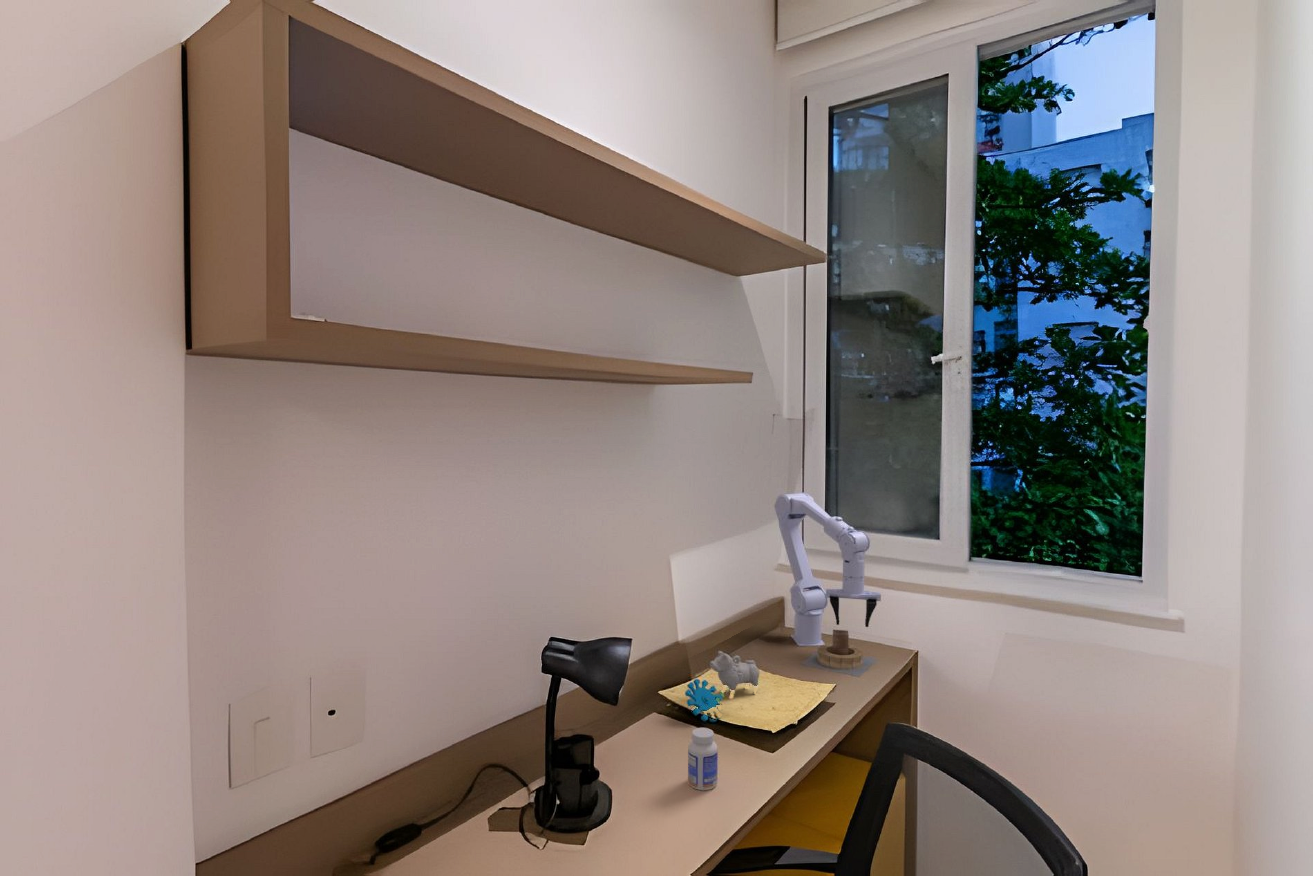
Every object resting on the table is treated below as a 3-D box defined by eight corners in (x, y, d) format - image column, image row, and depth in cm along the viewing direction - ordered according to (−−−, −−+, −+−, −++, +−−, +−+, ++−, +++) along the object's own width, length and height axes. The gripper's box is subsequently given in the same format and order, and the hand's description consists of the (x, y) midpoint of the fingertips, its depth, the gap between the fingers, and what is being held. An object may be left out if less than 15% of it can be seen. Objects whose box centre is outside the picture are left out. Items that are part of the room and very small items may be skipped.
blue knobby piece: (699, 722, 157) (681, 679, 163) (684, 735, 160) (667, 692, 166) (735, 716, 164) (717, 675, 170) (720, 728, 167) (703, 687, 173)
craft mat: (822, 648, 210) (822, 647, 210) (878, 660, 201) (878, 658, 201) (800, 665, 196) (800, 663, 196) (859, 678, 188) (859, 676, 188)
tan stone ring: (813, 654, 204) (813, 643, 204) (853, 653, 205) (854, 643, 205) (825, 669, 193) (825, 658, 192) (868, 668, 193) (868, 657, 193)
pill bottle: (719, 778, 137) (719, 727, 137) (715, 793, 132) (716, 740, 131) (690, 774, 138) (691, 724, 138) (685, 789, 133) (686, 737, 133)
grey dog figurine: (705, 694, 177) (705, 650, 176) (750, 686, 182) (751, 644, 181) (715, 702, 172) (716, 658, 171) (762, 693, 177) (762, 650, 177)
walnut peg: (832, 663, 197) (833, 634, 197) (832, 658, 201) (832, 629, 201) (847, 664, 196) (848, 635, 196) (847, 659, 200) (847, 630, 200)
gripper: (826, 577, 198) (825, 627, 199) (882, 581, 195) (880, 631, 195) (826, 571, 205) (825, 619, 206) (880, 575, 202) (878, 623, 202)
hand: (852, 624), depth 201 cm, fingers open, 7 cm apart
